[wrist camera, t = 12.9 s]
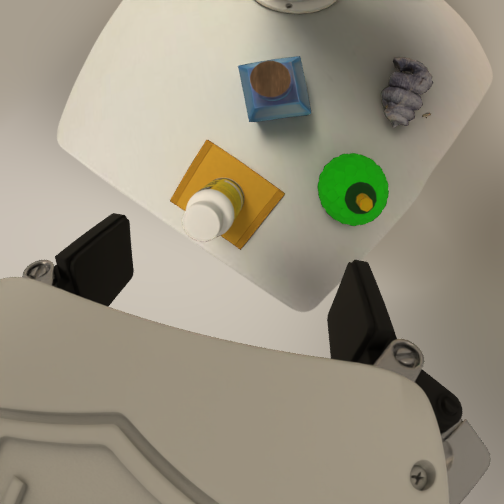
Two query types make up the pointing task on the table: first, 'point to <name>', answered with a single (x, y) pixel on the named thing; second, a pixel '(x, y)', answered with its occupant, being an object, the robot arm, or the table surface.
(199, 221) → the supplement bottle
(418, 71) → the seashell
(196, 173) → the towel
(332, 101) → the table surface
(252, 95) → the perfume bottle
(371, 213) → the ornament
